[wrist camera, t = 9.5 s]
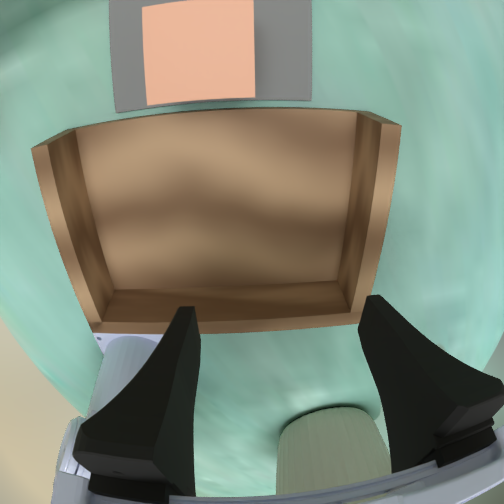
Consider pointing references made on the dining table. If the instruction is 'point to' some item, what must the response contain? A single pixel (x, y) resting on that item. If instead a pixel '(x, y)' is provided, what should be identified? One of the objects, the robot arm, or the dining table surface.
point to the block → (198, 50)
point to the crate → (222, 216)
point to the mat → (265, 49)
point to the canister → (330, 452)
